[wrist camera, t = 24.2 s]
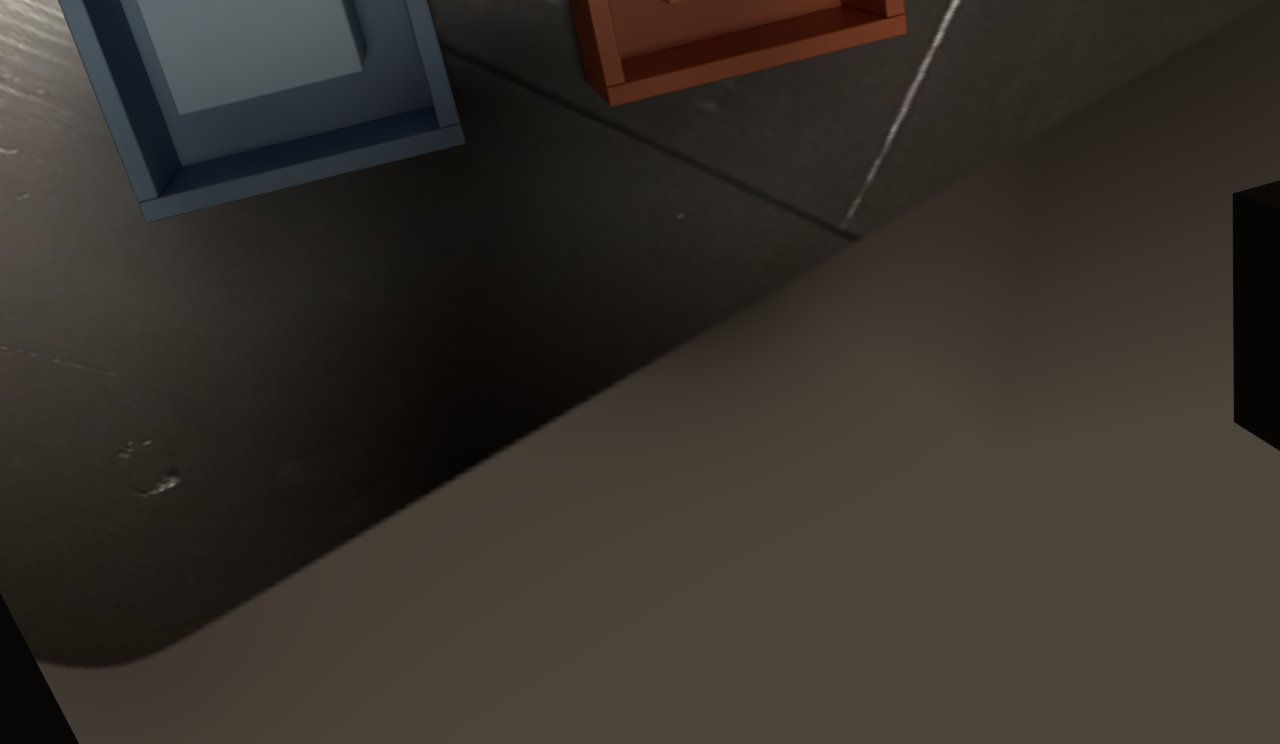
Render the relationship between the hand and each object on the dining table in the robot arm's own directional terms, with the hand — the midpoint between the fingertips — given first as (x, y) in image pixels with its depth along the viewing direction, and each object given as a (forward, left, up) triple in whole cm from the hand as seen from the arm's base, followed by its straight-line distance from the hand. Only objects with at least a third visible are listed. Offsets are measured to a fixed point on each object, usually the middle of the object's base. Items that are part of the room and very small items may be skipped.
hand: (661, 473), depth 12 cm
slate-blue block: (+4, +6, -28) cm, 28 cm away
